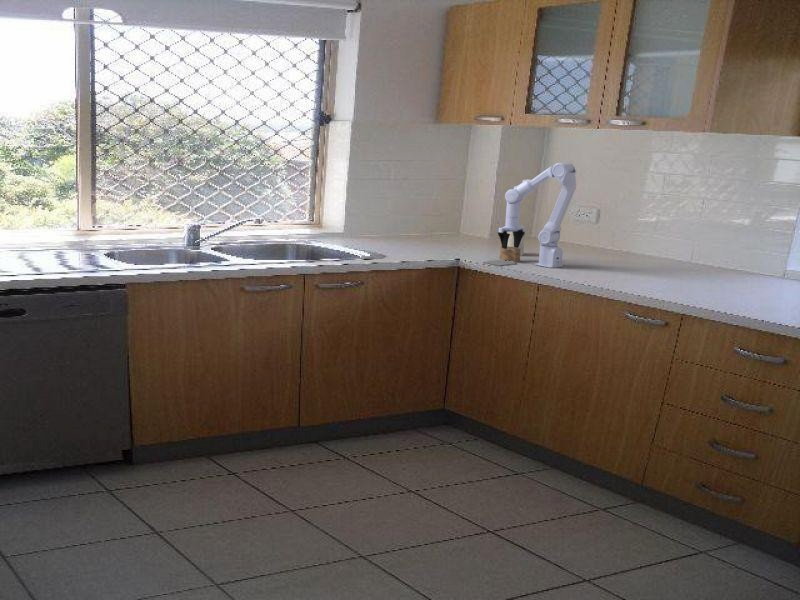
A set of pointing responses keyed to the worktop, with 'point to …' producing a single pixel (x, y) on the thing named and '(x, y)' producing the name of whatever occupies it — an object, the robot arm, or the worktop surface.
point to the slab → (510, 254)
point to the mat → (499, 262)
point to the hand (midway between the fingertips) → (510, 248)
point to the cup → (511, 242)
